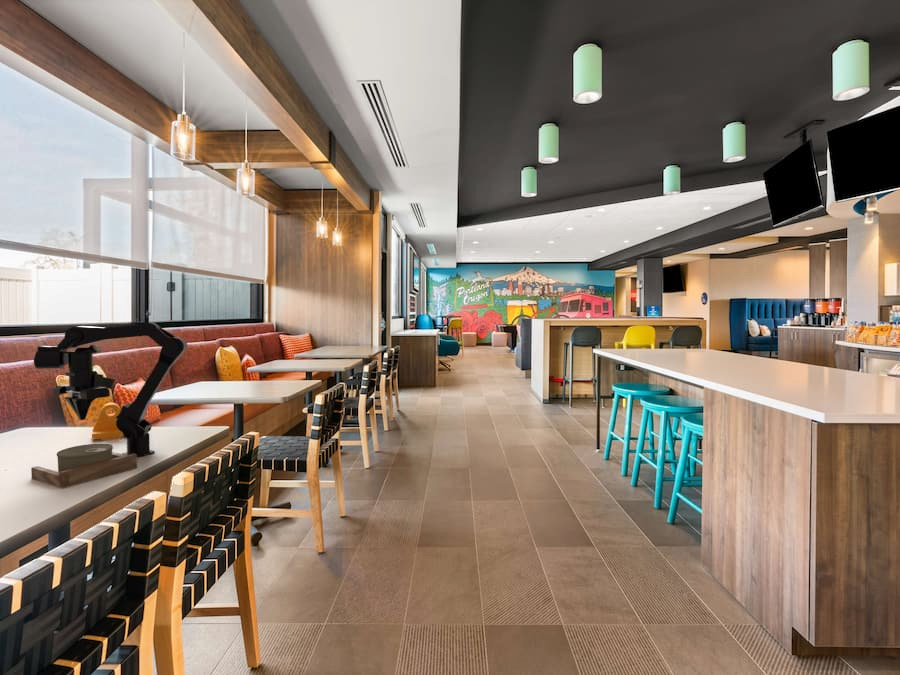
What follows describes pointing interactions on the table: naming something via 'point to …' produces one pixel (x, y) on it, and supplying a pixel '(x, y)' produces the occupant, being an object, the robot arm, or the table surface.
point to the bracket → (107, 424)
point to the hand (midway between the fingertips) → (82, 419)
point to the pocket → (85, 471)
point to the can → (83, 455)
